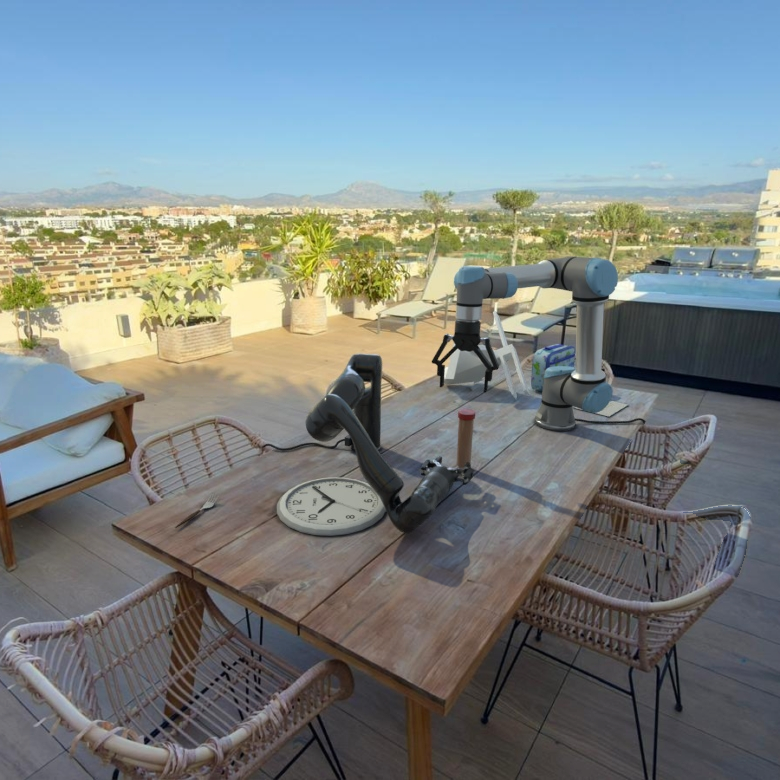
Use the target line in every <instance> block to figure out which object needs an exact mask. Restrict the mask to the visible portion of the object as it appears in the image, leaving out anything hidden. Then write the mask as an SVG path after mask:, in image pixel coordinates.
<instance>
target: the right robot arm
mask: <svg viewBox="0 0 780 780" xmlns="http://www.w3.org/2000/svg"><path fill="white" fill-rule="evenodd" d="M618 283H619V273H618V270H617V267H616V265H615V264H613V262H612V261H610V260H609V259H605V258H601V257H588V256H587V257H586V256H585V257H584V256H582V257H581V256H565V257H558V258H553V259H543V260H541V261H539V262H538V263H534V264H533V263H532V264H522V265H511V266H510V265H509V266H508V265H507V266H497V267H486V268H485V267H483V266H477V265H474V266H473V265H463V266H460V267H459V269H458V271H457V272H456V273H455V274H454V278H453V286H454V288H455V289H456V305H455V317H454V318H455V319H456V320H455V322H454V334H453V335H451V334H449V333H445V334H444V335H443V337H442V342H441V344H440V346H439V348H438V350H437V351H436V352H435V354H434V356H433V357H432V360H431V364H433V365H436V369H437V370H436V376H437V377H439V388H443V387H444V386H445V384H444V373H445V368H446V365H445V364H444V363H445V362H446V361H447V360H448V359H450V357H451V355H452V354H453V353H454V352H455V351H456V350H457V349H459V350H460V351H468V352H471V351H474V352H475V354H477V356H478V357H479V359H480V360H481V361H482V363H483V364H484V365H485V367H486V368H487V369H486V371H485V377H484V380H483V382H484V383H483V393H487V391H488V387H489V382H491V381H492V380H493V373H494V371H498V370H499V369H500V366H499V364H498V362H497V359H496V357H495V354H494V352H493V350H494V349H493V347H492V343H491V337H489V336H487V337H481V324H482V322H481V320H482V313H483V311H482V310H483V302H484V301H483V300H490V299H491V300H493V299H494V300H495V299H497V300H498V299H503V300H505V299H509V298H512V297H514V296H515V295H516V293H517V292H518V289H526V288H534V287H535V288H536V287H540V288H541V289H555V290H562V291H567V292H572V293H571V299H572V301H573V302H574V303H575V304H576V325H575V326H576V330H575V366H574V367H569V366H555V367H549V368H547V369H546V370H545V375H544V378H543V391H541V402H540V405H539V407H538V410H537V411H536V413H535V416H534V424H535V425H536V426H537V427H539V428H542V429H544V430H549V431H556V432H567V431H572V430H574V429H575V428H576V422H581V423H586V424H599V425H600V424H602V425H603V424H604V425H605V424H608V425H609V424H616V425H617V424H630V423H634V422H638V421H641V422H643V423H646V422H647V421H646V420H645V419H644V418H641V417H637V418H634V419H630V420H603V421H602V420H586V419H581V418H575V417H576V416H575V413H574V407H577V408H580V409H582V410H581V411H584V412H587V413H592V414H596V413H597V412H600V411H602V410H603V409H604V408H605V407H606V406H607V405H608V404H609V402H610V401H612V397H613V394H614V393H613V392H614V390H613V386H612V385H611V384H610V383H608V382H607V381H606V379H607V378H606V377H607V374H606V373H605V372H604V371H603V370H602V368H603V367H602V364H603V362H602V361H603V338H604V309H605V303H607V302H608V301H609V299H610V296H611V295H612V294H613V293H614V292H615V291H616V287H617V286H618ZM451 341H452V342H453V344H454V343H455V346H454V347H453V346H452V348H451V349H450V350H449V351H448V352H446V354H445V355H444V356H443V357H442V358H441V359H440V356H441V355H442V353H443V352H444V350H445V349H446V347H447V345H448V343H450V342H451ZM481 343H482V345H485V347H486V350H487V352H488V355H489V357H490V359H491V362H492V364H493V366H492V365H491V364H490V362H489V361H488V359H487V358H486V357H485V355H484V354H483V353H482V351H481V350H480V348H479V346H478V345H480V344H481ZM439 359H440V360H439ZM580 409H579V410H580Z"/></svg>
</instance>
